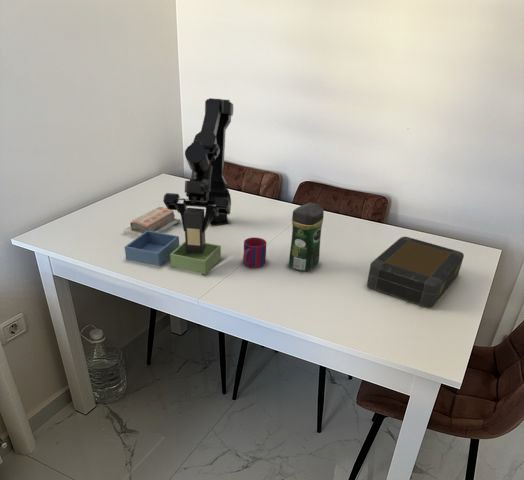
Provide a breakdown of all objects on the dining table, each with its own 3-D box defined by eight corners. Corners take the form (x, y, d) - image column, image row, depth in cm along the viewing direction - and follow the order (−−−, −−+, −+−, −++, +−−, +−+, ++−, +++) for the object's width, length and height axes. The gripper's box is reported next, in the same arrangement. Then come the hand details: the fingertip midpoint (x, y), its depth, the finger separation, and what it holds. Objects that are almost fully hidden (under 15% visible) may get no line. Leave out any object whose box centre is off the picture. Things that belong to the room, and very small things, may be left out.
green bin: (187, 253, 155) (187, 239, 152) (220, 259, 152) (220, 245, 150) (171, 268, 146) (169, 254, 144) (205, 275, 144) (205, 261, 141)
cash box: (395, 256, 159) (400, 233, 154) (458, 275, 150) (466, 252, 145) (362, 287, 142) (366, 262, 137) (431, 310, 133) (438, 285, 128)
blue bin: (148, 243, 159) (146, 230, 157) (179, 249, 157) (178, 236, 154) (126, 260, 149) (124, 246, 146) (159, 267, 146) (158, 253, 144)
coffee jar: (299, 256, 156) (305, 198, 145) (322, 263, 153) (329, 204, 142) (283, 267, 150) (288, 207, 138) (306, 275, 146) (313, 214, 135)
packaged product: (156, 203, 174) (179, 209, 171) (157, 216, 177) (180, 223, 174) (121, 220, 161) (146, 227, 158) (123, 234, 164) (147, 241, 161)
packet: (189, 246, 149) (187, 207, 141) (205, 247, 148) (204, 208, 141) (185, 252, 145) (183, 212, 138) (202, 253, 145) (201, 214, 138)
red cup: (269, 261, 152) (270, 241, 148) (251, 274, 145) (251, 252, 141) (251, 255, 155) (252, 235, 151) (232, 267, 148) (232, 246, 144)
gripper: (162, 164, 137) (154, 217, 135) (228, 169, 135) (222, 223, 133) (171, 183, 148) (164, 233, 146) (233, 188, 146) (227, 238, 144)
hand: (193, 231), depth 142 cm, fingers closed on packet, 5 cm apart
